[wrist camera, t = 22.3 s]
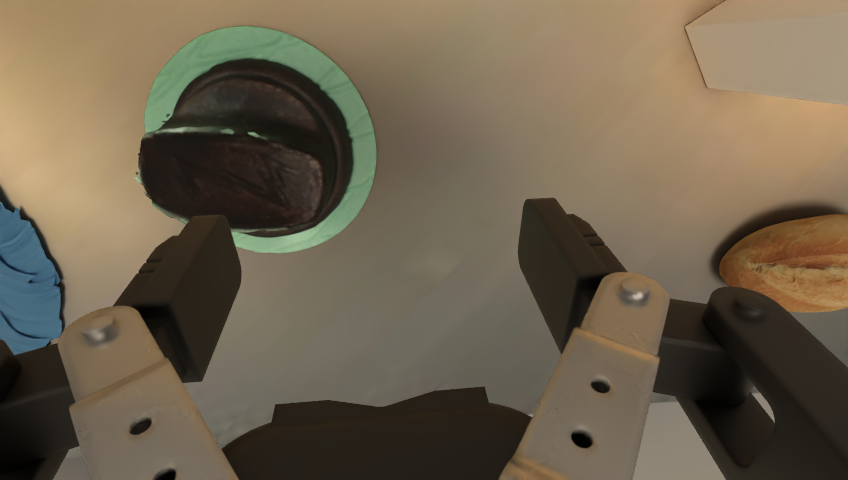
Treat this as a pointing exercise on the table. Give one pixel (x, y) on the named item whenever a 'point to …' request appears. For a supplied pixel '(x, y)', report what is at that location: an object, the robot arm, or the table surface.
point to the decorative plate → (26, 287)
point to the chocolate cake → (258, 139)
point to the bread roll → (794, 263)
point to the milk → (775, 48)
